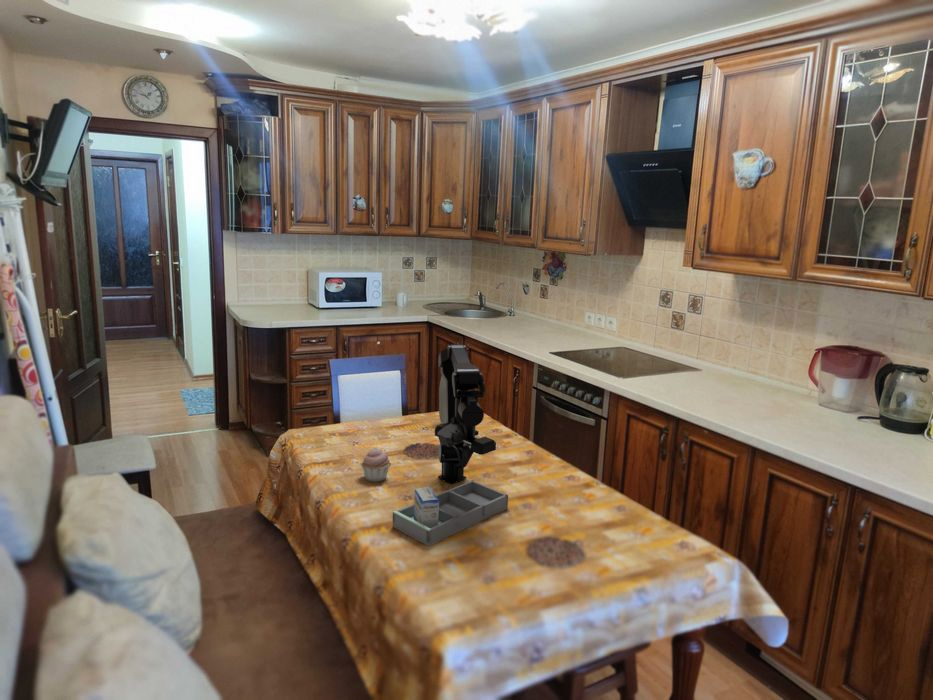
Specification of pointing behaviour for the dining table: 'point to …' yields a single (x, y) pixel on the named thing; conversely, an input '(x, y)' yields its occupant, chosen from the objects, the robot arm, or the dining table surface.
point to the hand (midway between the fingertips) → (463, 466)
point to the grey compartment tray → (453, 512)
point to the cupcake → (375, 465)
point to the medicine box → (426, 507)
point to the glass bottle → (442, 400)
